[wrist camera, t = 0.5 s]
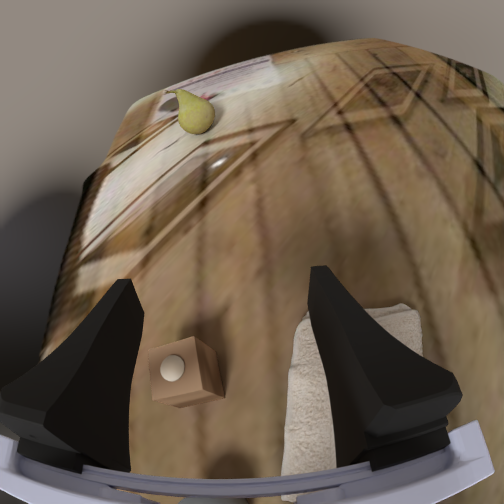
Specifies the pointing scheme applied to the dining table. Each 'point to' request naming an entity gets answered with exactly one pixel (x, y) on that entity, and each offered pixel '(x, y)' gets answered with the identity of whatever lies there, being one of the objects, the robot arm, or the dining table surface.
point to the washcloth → (326, 393)
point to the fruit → (193, 112)
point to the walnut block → (184, 373)
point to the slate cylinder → (213, 501)
